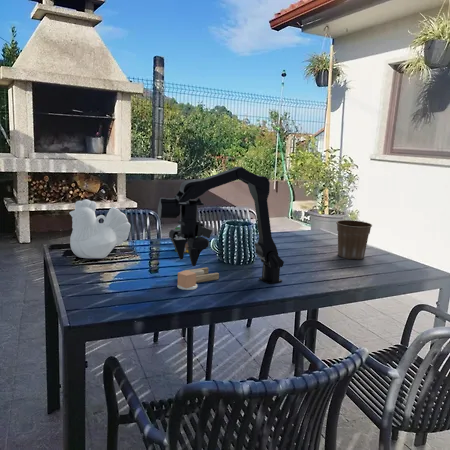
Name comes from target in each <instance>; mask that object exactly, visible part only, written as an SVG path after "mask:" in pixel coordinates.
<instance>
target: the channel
mask: <svg viewBox="0 0 450 450" xmlns="http://www.w3.org/2000/svg"><path fill="white" fill-rule="evenodd" d="M194 269H195V268H192V269H190V270H194ZM197 269H202V270H203V271H204V275H198V276H196V284H197V283H203V282H211V281H216V280H220V279H219V278H220V273H219V272H214V273H209V267H200V268H197ZM186 270H187V269H184V270H183V271H186Z"/></svg>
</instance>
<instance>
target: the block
mask: <svg viewBox="0 0 450 450" xmlns="http://www.w3.org/2000/svg"><path fill="white" fill-rule="evenodd" d="M186 270H187V271H184V270H182V271H183V272H181V271H180V272H177V285H179V286H181V287H184V288H189V287H193V286H196V284H197V283H196V273H194V272H191V271H188V270H189V269H186Z"/></svg>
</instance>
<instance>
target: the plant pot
mask: <svg viewBox="0 0 450 450" xmlns="http://www.w3.org/2000/svg"><path fill="white" fill-rule="evenodd" d="M372 227H373V224H372V223H369V222H367V221H359V220H353V219H352V220H351V219H348V220H347V219H343V220H342V219H341V220H337V221H336V230H337V255H338V257H341V258H343V259H348V260H353V259H354V260H362V259H364V258H365V255H366V250H367V244H368V239H369V235H370V234H371V230H372Z"/></svg>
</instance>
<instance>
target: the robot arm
mask: <svg viewBox="0 0 450 450" xmlns="http://www.w3.org/2000/svg"><path fill="white" fill-rule="evenodd" d="M237 180H240V181H241V182H242V183H244V184H246V185H247V187H248V190H249V193H250V196H251V198H252V199H253V202H254V209H255V216H256V223H257V224H256V225H257V231H258V241H257V242H254V244H253V245H254V249H255V251H254V253H255V254H256V255H257V257H258V258H259V259H260V262H261V263H262V270H261V274H262V275H261V277H258V279H259V280H260V281H263V282H265V283H267V284H269V285H271V284H276V283H281V282H283V280H282V279H281V278H280V273H281V268H283V267H284V264H285V261H284V260H283V259H282V258H281V257H280V256H279V251H278V247H277V246H276V245H277V244H276V243H275V241H274V239H273V237H272V230H271V228H272V227H271V222H270V221H271V220H270V213H269V212H270V211H269V205H268V204H269V203H268V200H269V199H268V198H269V196H270V191H271V190H270V188H271V186H270V185H271V183H270V180H269V178H267V177H266V176H264V175H259V174H255V173H253V172H251V171H249V170H247V169H245V168H244V167H243V166H234V167H233V168H230V169H227V170H225V171H222V172H219V173H217V174H214V175H210V176H207V177H204V178H197V179H196V178H195V179H194V178H193V179H189V180H184V181H182V182H181V184H180V185H179V186H180V187H179V190H178V191H177V193H176V194H175V195H174V197H173V198H169V197H168V198H166V197H160V198H159V202H158V206H157V215H158V218H159V219H177V218H178V217H179V216H180V219H179V220H177V224H178V225H180V229H171V230H170V231H169V232H168V238H169V239H170V241H171V242H172V245H173V246H174V250H175V249H176V251H177V252H176V254H177V255H178V257H179V260H183V259H184V255H185V252H184V250H185V244H186V243H187V241H188V246H189V247H187V248H188V252H189V253H188V255H189V260H190V262H191V266H192V267H196V265H197V262H198V260H199V258H200V254H201V252H202V251H204V250H206V249H207V248H209V247H210V241H209V240H208V239H210V238H211V235H212V233H213V229H210V228H208V227H204V226H205V225H204V223H201V222H200V221H199V220H198V212H199V211H198V210H199V209H198V208H199V206H204V205H205V203H204V202H203V201H202V200H201V199H200V196H203V195H204V194H205V193H207V192H208V191H210V190H212V189H214V188H217V187H221V186H223V185H226V184H229V183H231V182H235V181H237Z"/></svg>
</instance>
